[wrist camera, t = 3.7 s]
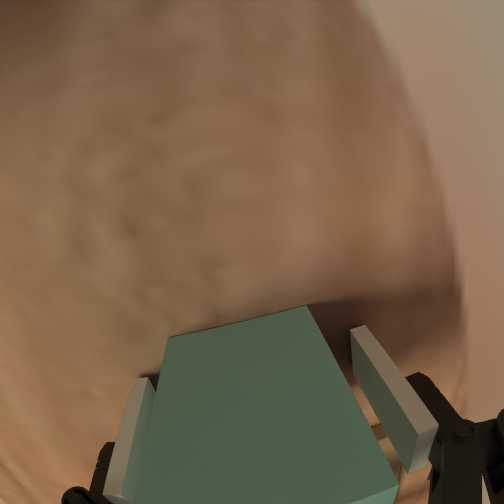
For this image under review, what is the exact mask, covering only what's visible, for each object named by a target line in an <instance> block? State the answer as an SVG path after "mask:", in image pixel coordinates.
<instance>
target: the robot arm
mask: <svg viewBox="0 0 504 504" xmlns="http://www.w3.org/2000/svg"><path fill="white" fill-rule="evenodd" d="M350 338H351V352H352V367H353V374H354V376H355V378H356V380H357V381H358V383H359V385H360V387H361V389H362V390H363V392H364V394H365V396H366V398H367V399H368V401H369V403H370V405H371V407H372V408H373V410H374V412H375V414H376V416H377V418H378V419H379V421H380V423H381V425H382V427H383V429H384V430H385V432H386V434H387V436H388V438H389V440H390V442H391V443H392V445H393V447H394V449H395V451H396V453H397V455H398V457H399V458H400V460H401V462H402V464H403V466H404V468H405V470H406V472H407V474H409V473H412V472H414V471H416V470H418V469H420V468H422V467H424V466H426V464H427V461H428V459H429V461H430V462H431V464H432V468H431V471H430V473H429V476H428V479H427V480H430V490H429V499H428V504H482V475H483V478H484V482H485V485H486V489H487V492H488V496H489V499H490V503H491V504H504V409H502V410H501V412H500V413H499V414H498V416H497V418H495V419H491V420H488V421H484V422H479V423H474V422H472V421H470V420H466V419H462V418H461V417H460V416H459V415H458V413H457V412H456V411H455V410H454V408H453V407H452V406H451V405H450V403H449V402H448V401H447V399H446V398H445V397H444V396H443V394H441V393H440V391H439V389H438V388H437V387H435V384H434V383H433V382H432V381H431V380H430V378H429V377H427V376H425V375H424V374H422V373H420V372H417V373H414V374H412V375H410V376H407V377H404V376H403V374H402V373H401V372H400V370H399V369H398V368H397V366H396V365H395V364H394V362H393V361H392V360H391V358H390V357H389V356H388V354H387V353H386V352H385V350H384V349H383V348H382V346H381V345H380V344H379V342H378V341H377V340H376V338H375V337H374V336H373V334H372V333H371V332H370V331H369V329H368V328H367V327H366V325H363V326H359V327H356V328H353V329H350ZM155 395H156V391H155V389H154V387H153V386H152V384H151V382H150V380H149V378H148V377H144V378H138V379H134V380H133V383H132V386H131V390H130V393H129V396H128V400H127V403H126V406H125V410H124V413H123V417H122V420H121V424H120V427H119V431H118V435H117V438H116V442H107V443H106V444H105V445H104V447H103V448H102V449H101V451H100V453H99V457H98V460H97V461H98V462H97V464H96V467H95V468H96V470H95V471H94V475H93V478H92V482H91V486H90V490H89V491H88V490H86V489H85V488H84V487H79V486H77V487H72V488H70V489H68V490H67V491H66V492H65V493H64V494H63V497H62V504H137V498H138V491H139V485H140V478H141V472H142V466H143V460H144V454H145V448H146V442H147V437H148V431H149V426H150V421H151V415H152V410H153V405H154V400H155Z"/></svg>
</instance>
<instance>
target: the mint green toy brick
mask: <svg viewBox="0 0 504 504" xmlns="http://www.w3.org/2000/svg"><path fill="white" fill-rule="evenodd" d="M398 487H399V483H398V481H397V479H396V477H395V475H394V473H393V471H392V469H391V467H390V465H389V463H388V461H387V459H386V457H385V455H384V453H383V451H382V449H381V447H380V445H379V443H378V441H377V439H376V437H375V435H374V433H373V431H372V429H371V427H370V425H369V423H368V421H367V419H366V417H365V415H364V413H363V411H362V409H361V408H360V406H359V404H358V402H357V400H356V398H355V396H354V394H353V392H352V390H351V388H350V386H349V384H348V382H347V380H346V379H345V377H344V375H343V373H342V371H341V369H340V367H339V365H338V363H337V361H336V360H335V358H334V356H333V354H332V352H331V350H330V348H329V346H328V344H327V343H326V341H325V339H324V337H323V335H322V333H321V331H320V329H319V328H318V326H317V324H316V322H315V320H314V318H313V316H312V314H311V313H310V311H309V309H308V307H307V305H305V306H301V307H297V308H294V309H290V310H286V311H282V312H278V313H275V314H271V315H267V316H263V317H259V318H255V319H251V320H247V321H242V322H238V323H234V324H230V325H225V326H221V327H217V328H212V329H208V330H203V331H199V332H194V333H190V334H185V335H180V336H175V337H171V338H168V340H167V345H166V349H165V353H164V358H163V362H162V367H161V371H160V376H159V381H158V386H157V390H156V395H155V400H154V405H153V410H152V415H151V421H150V426H149V431H148V437H147V442H146V448H145V454H144V460H143V466H142V472H141V478H140V485H139V491H138V498H137V504H393V503H394V500H395V497H396V494H397V491H398Z"/></svg>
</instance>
